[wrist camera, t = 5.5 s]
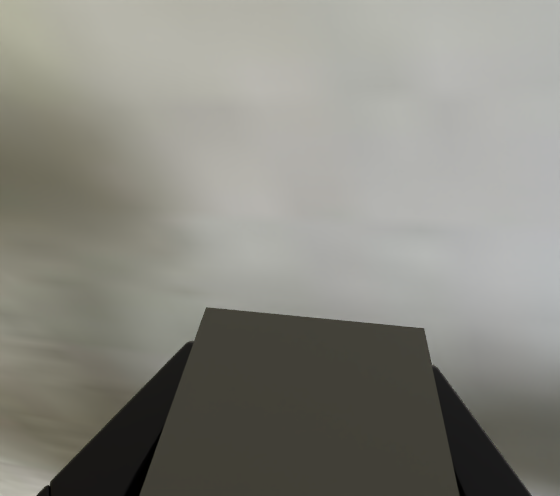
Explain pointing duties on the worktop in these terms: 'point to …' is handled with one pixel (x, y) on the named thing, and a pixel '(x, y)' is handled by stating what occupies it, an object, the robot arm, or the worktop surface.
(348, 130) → the worktop surface
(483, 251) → the worktop surface
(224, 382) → the shaft
